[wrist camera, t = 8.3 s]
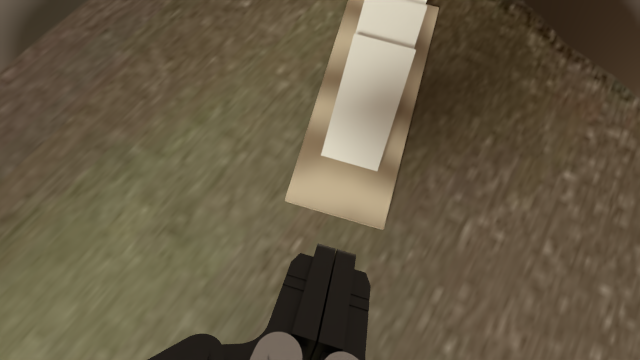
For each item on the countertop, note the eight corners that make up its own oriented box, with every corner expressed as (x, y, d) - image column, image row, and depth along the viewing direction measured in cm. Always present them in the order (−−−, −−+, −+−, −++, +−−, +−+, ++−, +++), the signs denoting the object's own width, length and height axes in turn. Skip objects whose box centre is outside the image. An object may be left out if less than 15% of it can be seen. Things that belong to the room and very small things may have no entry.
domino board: (381, 229, 28) (383, 229, 27) (285, 201, 28) (284, 200, 27) (435, 14, 32) (439, 7, 31) (351, -7, 32) (352, -15, 31)
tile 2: (388, 128, 27) (427, 5, 24) (333, 112, 27) (366, -10, 25) (386, 127, 28) (423, 12, 26) (334, 112, 29) (366, -3, 26)
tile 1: (377, 171, 26) (416, 49, 24) (320, 155, 26) (354, 33, 24) (375, 168, 28) (412, 53, 25) (322, 153, 28) (354, 38, 26)
